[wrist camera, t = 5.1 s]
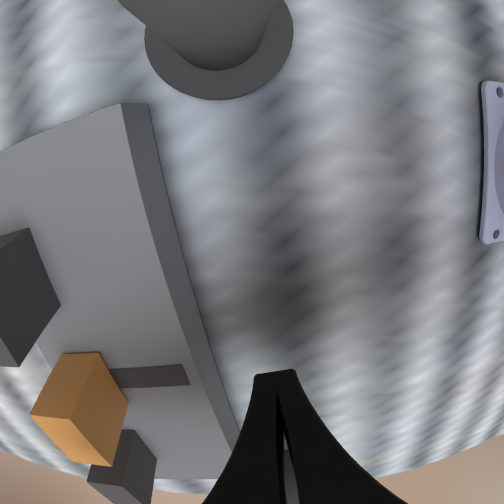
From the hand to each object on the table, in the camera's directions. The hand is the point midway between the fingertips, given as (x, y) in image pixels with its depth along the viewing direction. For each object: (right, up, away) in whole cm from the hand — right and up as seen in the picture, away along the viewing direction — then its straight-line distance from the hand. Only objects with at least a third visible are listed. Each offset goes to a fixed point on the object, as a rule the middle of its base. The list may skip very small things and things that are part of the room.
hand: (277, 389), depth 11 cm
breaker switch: (-8, -1, +2) cm, 8 cm away
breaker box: (-7, +1, +4) cm, 8 cm away
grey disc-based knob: (-2, +13, -1) cm, 13 cm away
